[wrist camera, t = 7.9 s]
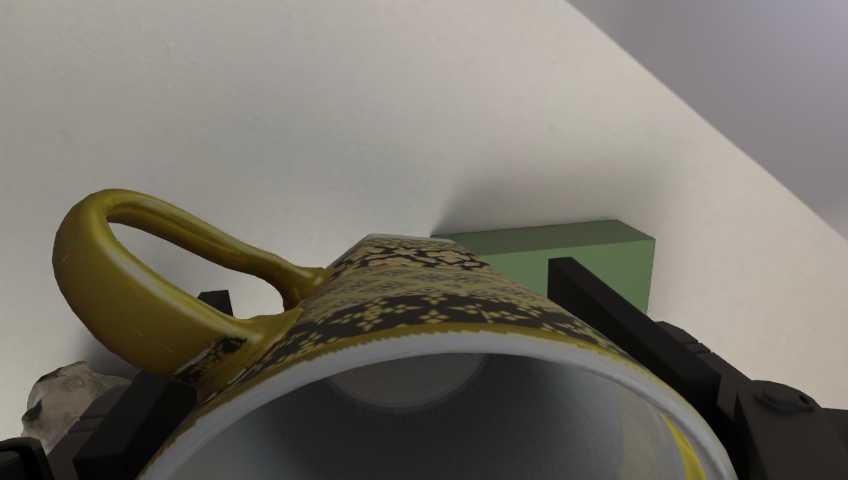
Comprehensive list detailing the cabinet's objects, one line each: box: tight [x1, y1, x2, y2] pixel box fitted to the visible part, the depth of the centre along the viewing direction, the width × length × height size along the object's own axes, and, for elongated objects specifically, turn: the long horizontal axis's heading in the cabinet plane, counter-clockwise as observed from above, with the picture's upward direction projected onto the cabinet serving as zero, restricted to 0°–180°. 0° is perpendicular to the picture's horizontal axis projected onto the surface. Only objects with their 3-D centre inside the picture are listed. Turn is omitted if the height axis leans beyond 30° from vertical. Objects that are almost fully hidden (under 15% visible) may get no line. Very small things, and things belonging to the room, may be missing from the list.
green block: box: [430, 220, 656, 316], centre depth 36 cm, size 15×15×5 cm
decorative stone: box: [21, 361, 132, 456], centre depth 32 cm, size 16×9×10 cm
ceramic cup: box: [52, 189, 738, 480], centre depth 11 cm, size 13×10×10 cm
